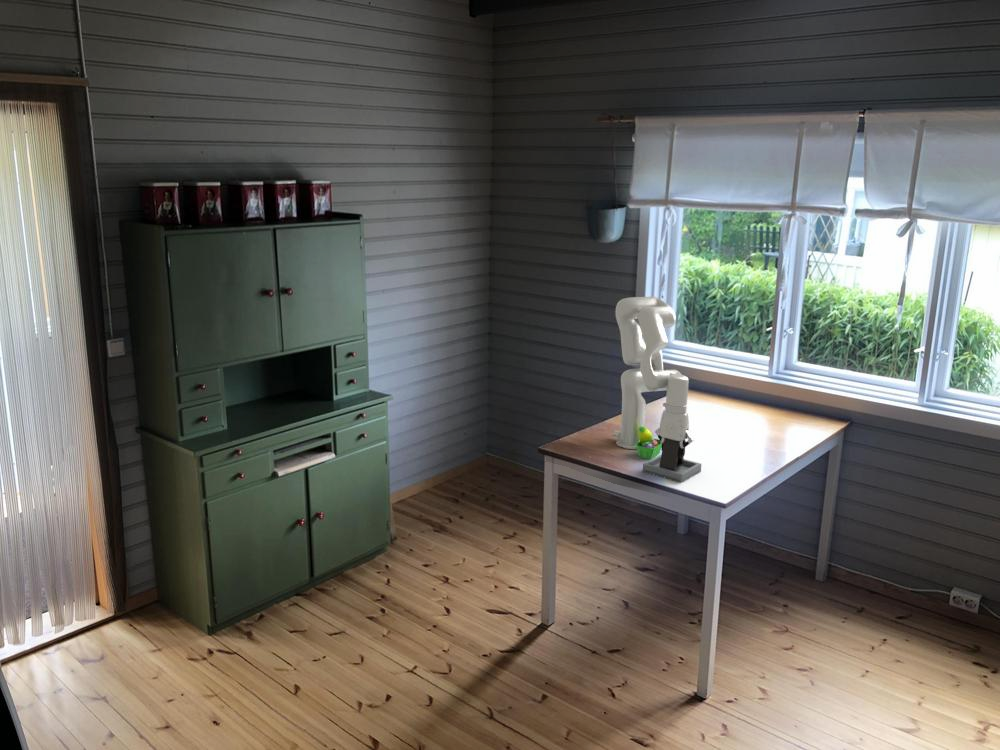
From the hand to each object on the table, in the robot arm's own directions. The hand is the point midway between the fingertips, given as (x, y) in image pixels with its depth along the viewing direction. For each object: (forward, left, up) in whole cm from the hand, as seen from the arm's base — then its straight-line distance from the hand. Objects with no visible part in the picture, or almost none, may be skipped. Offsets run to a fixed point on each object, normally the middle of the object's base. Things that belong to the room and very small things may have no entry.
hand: (672, 454), depth 296 cm
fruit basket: (-16, +10, -7) cm, 20 cm away
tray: (0, 0, -7) cm, 7 cm away
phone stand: (0, 0, -4) cm, 4 cm away
